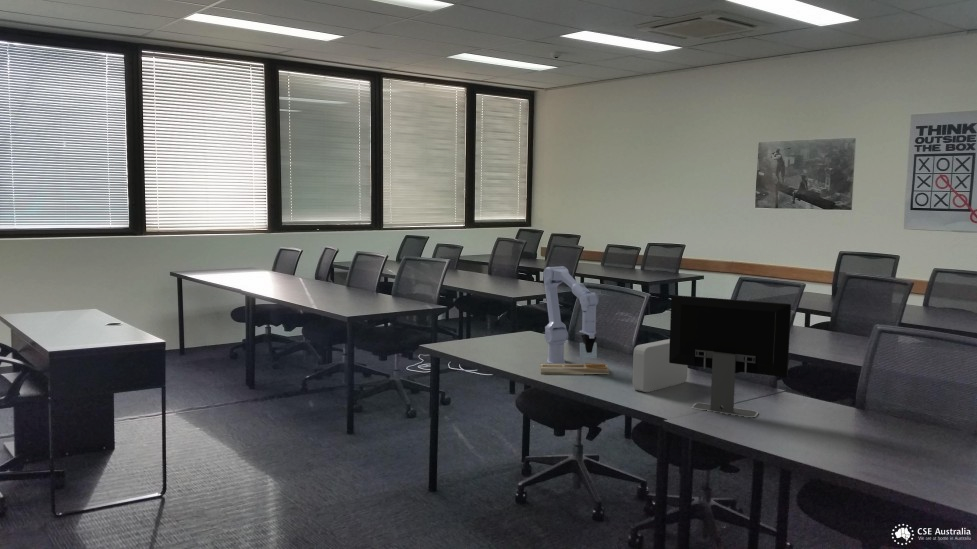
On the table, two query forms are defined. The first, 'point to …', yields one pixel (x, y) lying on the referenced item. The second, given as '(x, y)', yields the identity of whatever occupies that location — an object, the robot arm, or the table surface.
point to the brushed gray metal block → (584, 354)
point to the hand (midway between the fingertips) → (588, 351)
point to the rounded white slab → (656, 367)
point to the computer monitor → (729, 342)
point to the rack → (574, 368)
